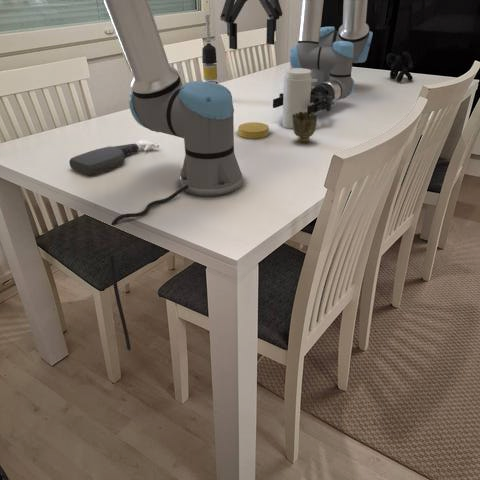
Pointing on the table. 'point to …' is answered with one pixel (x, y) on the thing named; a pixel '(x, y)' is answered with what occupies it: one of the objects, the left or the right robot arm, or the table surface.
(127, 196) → the table surface
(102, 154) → the spray bottle
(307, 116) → the cup
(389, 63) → the squiggle
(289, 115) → the jar
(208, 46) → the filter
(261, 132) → the lid
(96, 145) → the table surface
